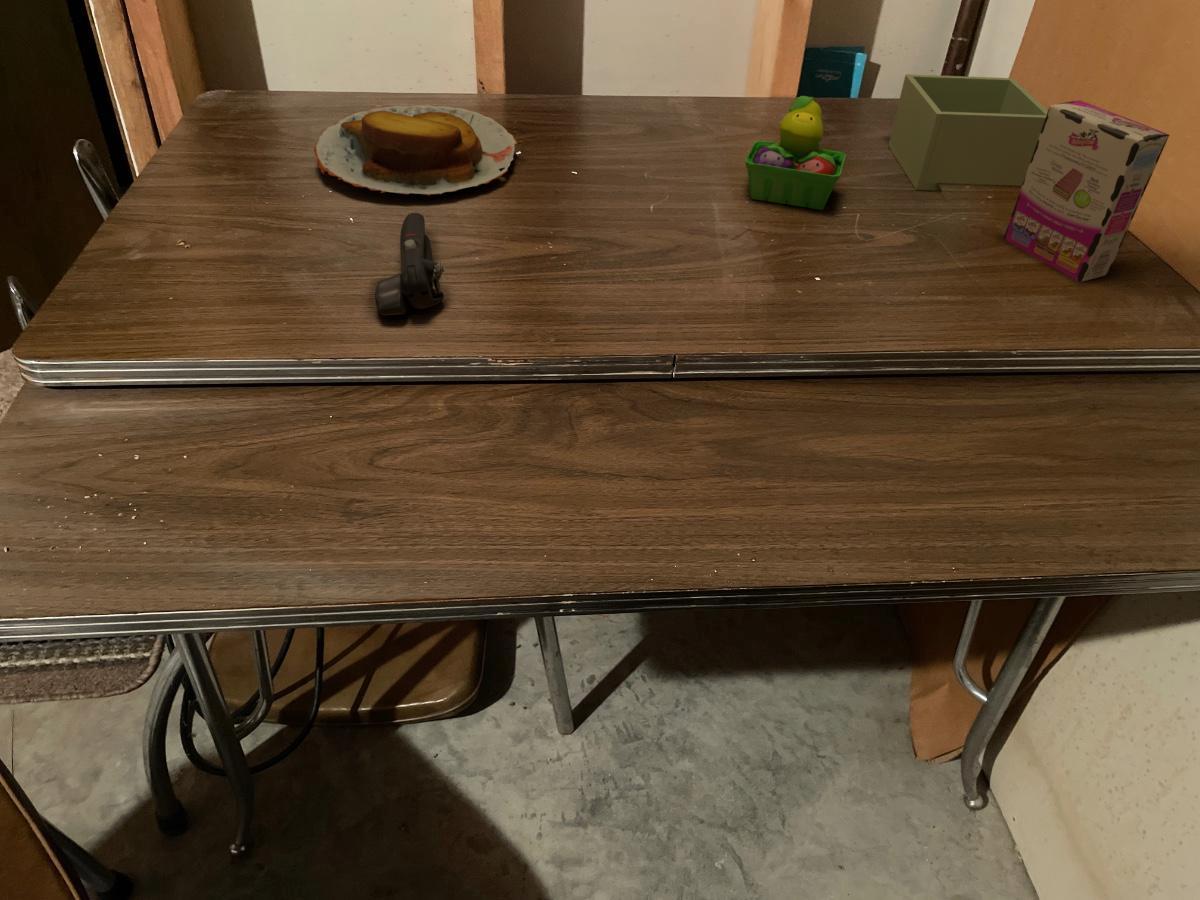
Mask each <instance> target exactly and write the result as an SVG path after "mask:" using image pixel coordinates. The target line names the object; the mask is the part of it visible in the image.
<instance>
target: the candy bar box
mask: <svg viewBox="0 0 1200 900" xmlns="http://www.w3.org/2000/svg"><path fill="white" fill-rule="evenodd" d="M1047 110H1048V112H1047V115H1046V118H1045V121H1044V124H1043V127H1042V130H1041V132H1040V135H1039V138H1038V141H1037V144H1036V147H1035V150H1034V153H1033V156H1032V159H1031V161H1030V164H1029V167H1028V170H1027V173H1026V175H1025V179H1024V181H1023V184H1022V186H1020V187H1021V188H1020V190H1019V193H1018V196H1017V199H1016V202H1015V205H1014V208H1013V210H1012V213H1011V216H1010V218H1009V221H1008V225H1007V227H1006V230H1005V233H1004V236H1003V240H1004V241H1006V242H1008V243H1009V244H1011V245H1013V246H1014V247H1016V248H1018V249H1020V250H1022V251H1023V252H1025V253H1027V254H1029V255H1030V256H1032V257H1034V258H1036V259H1038V260H1039V261H1041V262H1043V263H1045V264H1046V265H1048V266H1050V267H1052V268H1054V269H1055V270H1057V271H1060V272H1061V273H1062V274H1063V275H1066V276H1068V277H1070V278H1072V279H1074V280H1075V281H1077V282H1079V283H1083V282H1086V281H1090V280H1093V279H1097V278H1100V277H1104V276H1108V275H1109V274H1110V271H1111V269H1112V267H1113V265H1114V262H1115V260H1116V258H1117V255H1118V253H1119V251H1120V249H1121V247H1122V244H1123V242H1124V240H1125V237H1126V235H1127V233H1128V230H1129V228H1130V226H1131V224H1132V222H1133V219H1134V216H1135V215H1136V213H1137V210H1138V208H1139V204H1140V203H1141V201H1142V200H1143V197H1144V194H1145V192H1146V191H1147V188H1148V185H1149V183H1150V180H1151V178H1152V176H1153V173H1154V171H1155V169H1156V167H1157V164H1158V162H1159V160H1160V157H1161V156H1162V153H1163V151H1164V149H1165V147H1166V144H1167V142H1168V139H1169V137H1170V134H1169V133H1166V132H1164V131H1162V130H1159V129H1156V128H1153V127H1151V126H1148V125H1146V124H1144V123H1142V122H1138V121H1135V120H1133V119H1130V118H1129V117H1125V116H1123V115H1119V114H1117V113H1115V112H1112V111H1109V110H1107V109H1104V108H1101V107H1099V106H1096V105H1095V104H1094V105H1093V104H1091V103H1088V102H1086V101H1083V100H1081V99H1080V100H1079V99H1078V100H1071V101H1066V102H1060V103H1055V104H1050V105H1049V106H1048V109H1047Z"/></svg>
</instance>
